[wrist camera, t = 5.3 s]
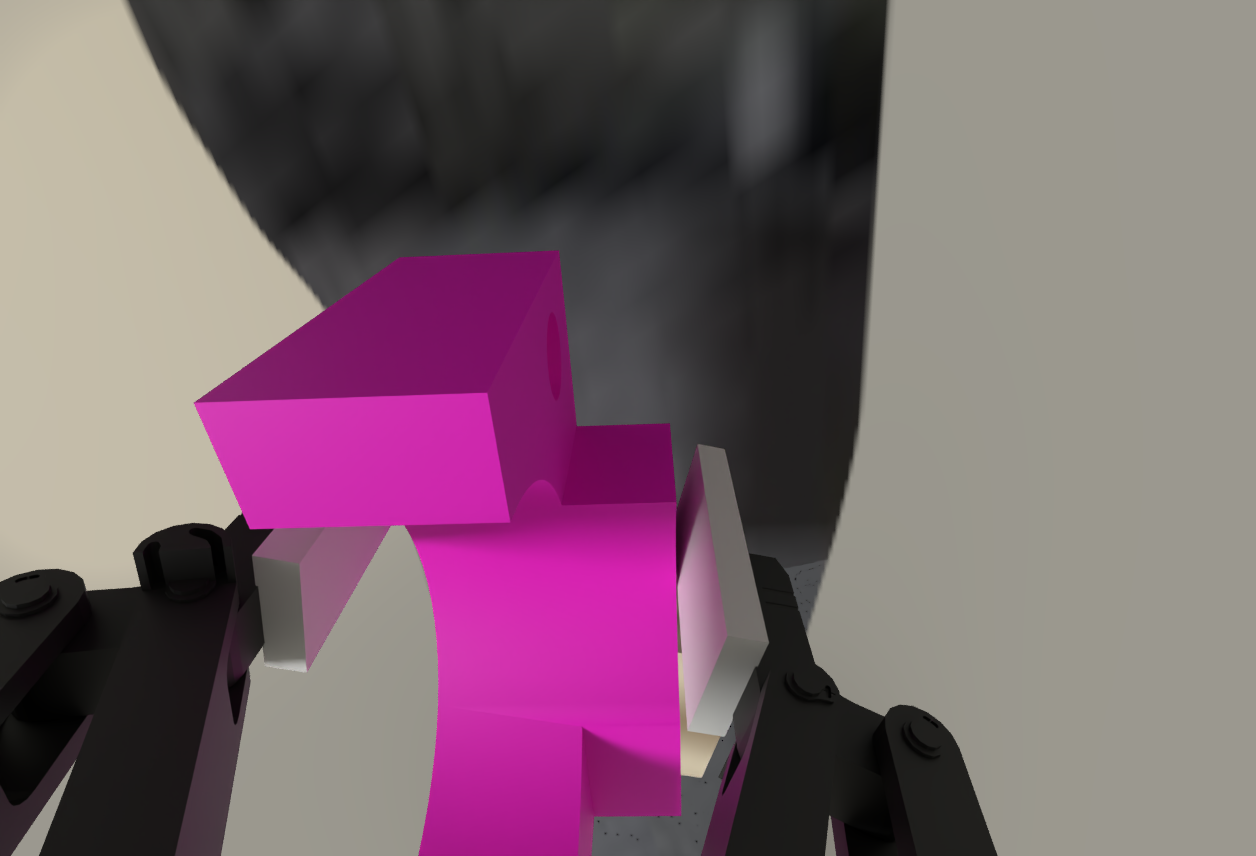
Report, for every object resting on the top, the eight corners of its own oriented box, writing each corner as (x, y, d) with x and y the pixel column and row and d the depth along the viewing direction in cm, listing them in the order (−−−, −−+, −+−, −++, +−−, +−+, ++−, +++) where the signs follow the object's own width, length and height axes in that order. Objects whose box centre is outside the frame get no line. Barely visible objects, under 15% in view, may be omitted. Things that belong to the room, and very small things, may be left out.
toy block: (673, 681, 21) (688, 945, 15) (497, 684, 22) (434, 944, 15) (667, 245, 14) (690, 386, 7) (399, 257, 14) (193, 403, 8)
